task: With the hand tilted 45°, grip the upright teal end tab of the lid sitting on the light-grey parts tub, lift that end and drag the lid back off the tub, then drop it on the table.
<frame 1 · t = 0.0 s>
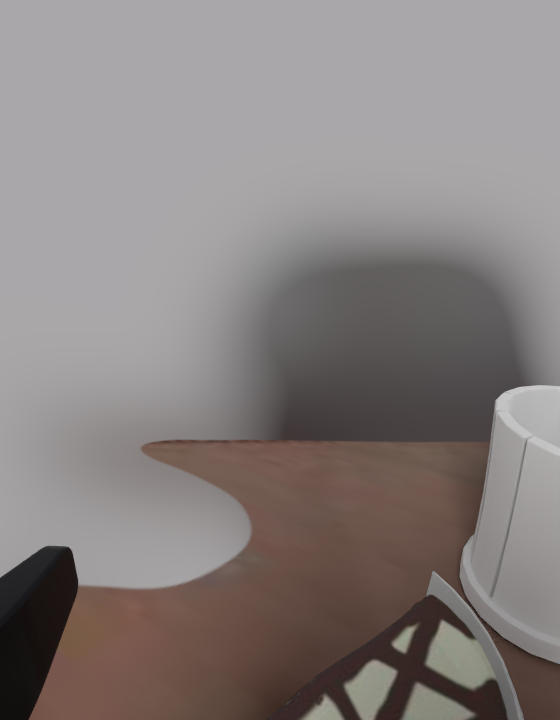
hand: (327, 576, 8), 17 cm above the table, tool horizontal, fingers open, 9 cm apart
cup: (547, 597, 27), on the table
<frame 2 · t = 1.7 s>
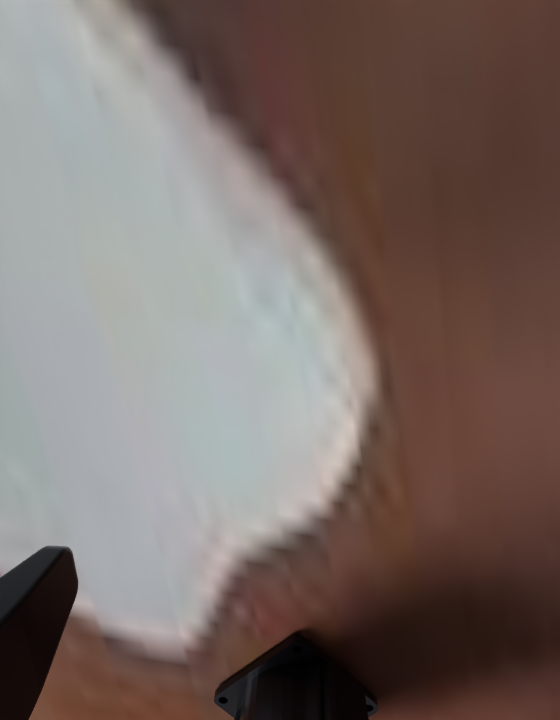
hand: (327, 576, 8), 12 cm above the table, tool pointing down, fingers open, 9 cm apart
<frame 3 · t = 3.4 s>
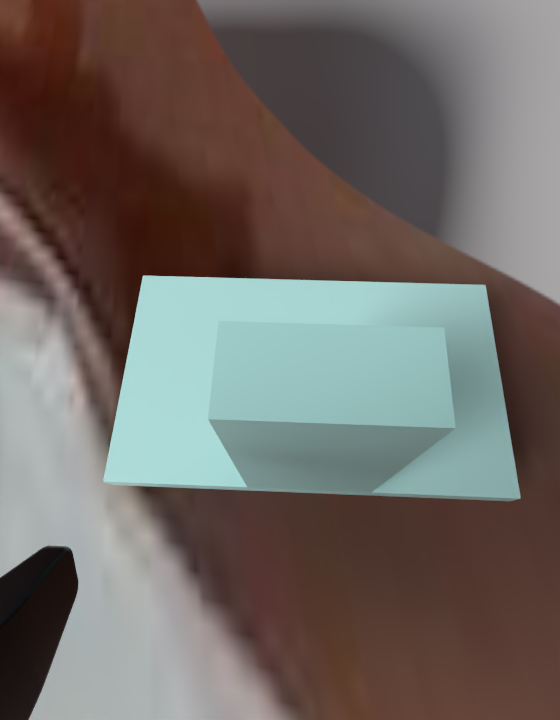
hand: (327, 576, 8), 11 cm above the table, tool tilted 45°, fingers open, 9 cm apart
lid: (309, 381, 18), point 2 cm above the table, touching tub
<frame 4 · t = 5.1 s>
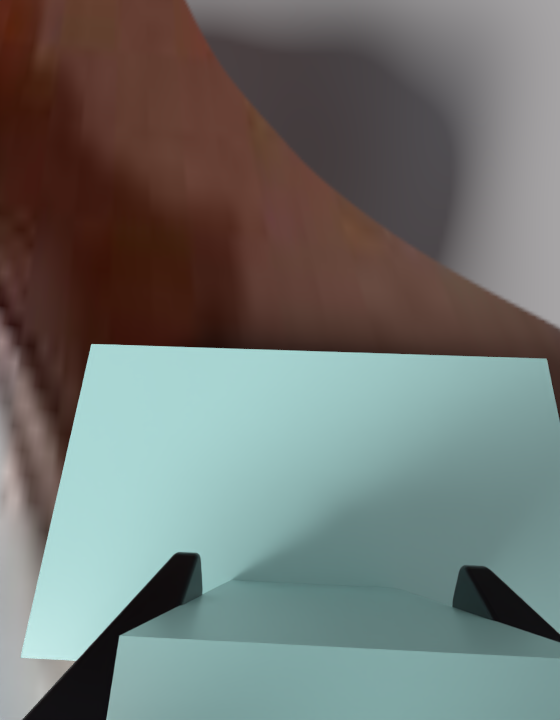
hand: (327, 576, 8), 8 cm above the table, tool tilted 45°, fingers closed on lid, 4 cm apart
lid: (312, 494, 14), point 2 cm above the table, touching gripper, tub
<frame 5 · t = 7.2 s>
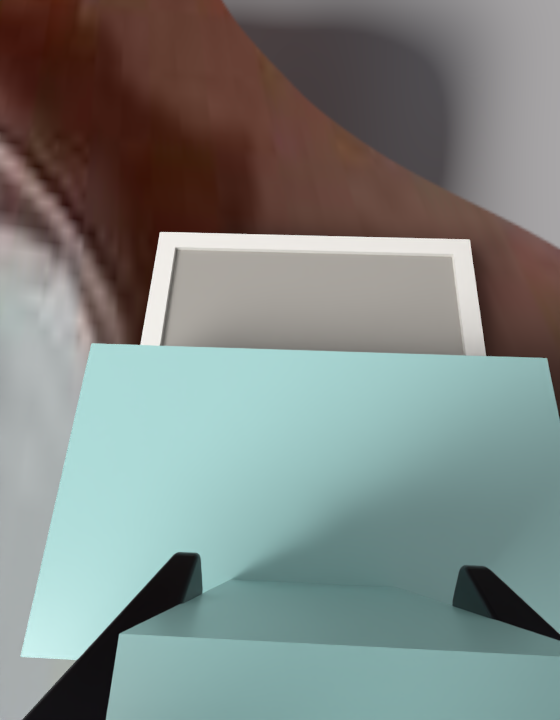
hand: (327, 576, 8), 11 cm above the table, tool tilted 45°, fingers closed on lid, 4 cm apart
lid: (312, 493, 14), point 5 cm above the table, touching gripper
tub: (309, 339, 21), on the table
when the fingers open (7 cm above the table, at t = 9.2 s): lid drops 2 cm, on the table.
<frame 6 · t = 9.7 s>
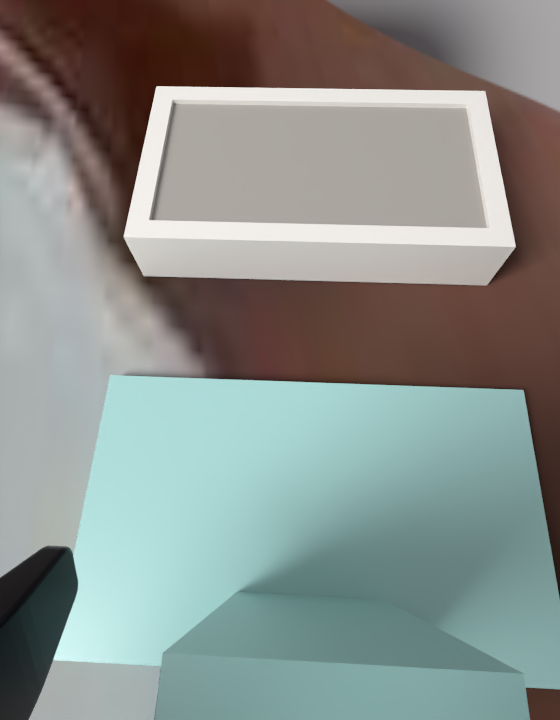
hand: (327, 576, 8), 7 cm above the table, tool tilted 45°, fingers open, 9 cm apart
lid: (310, 513, 15), on the table
tub: (314, 203, 20), on the table
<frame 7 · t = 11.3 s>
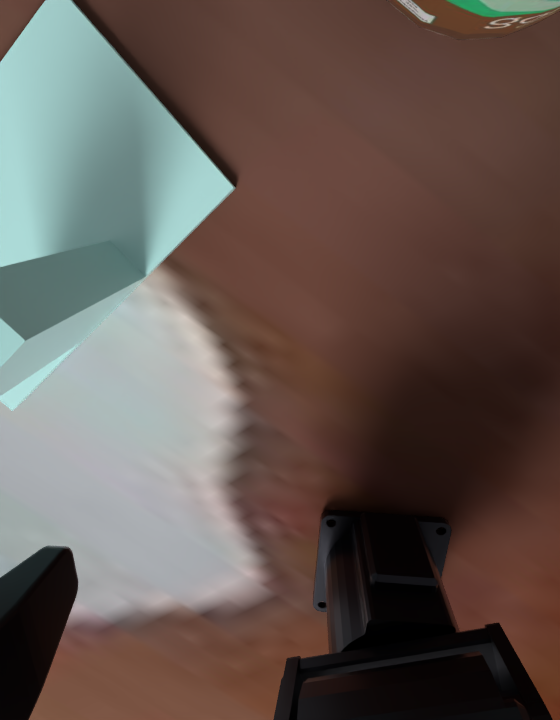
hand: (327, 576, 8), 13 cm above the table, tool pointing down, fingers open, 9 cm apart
lid: (41, 230, 19), on the table
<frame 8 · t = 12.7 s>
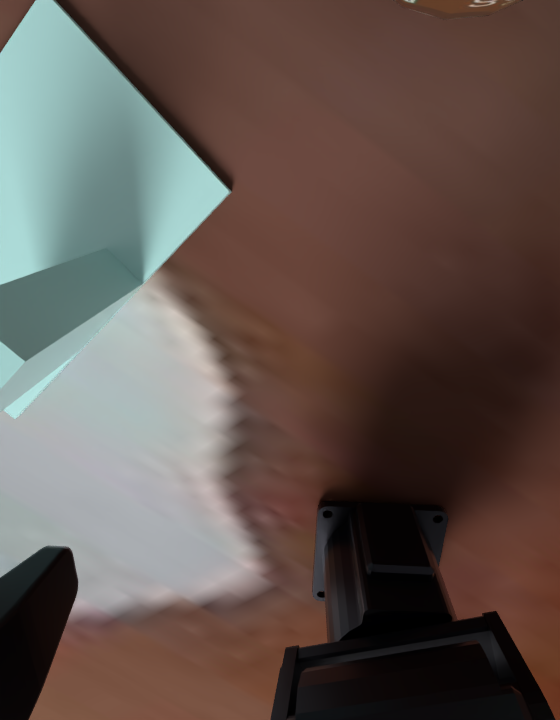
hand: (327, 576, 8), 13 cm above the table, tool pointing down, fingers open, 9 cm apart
lid: (37, 239, 19), on the table
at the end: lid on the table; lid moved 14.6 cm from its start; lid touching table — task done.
